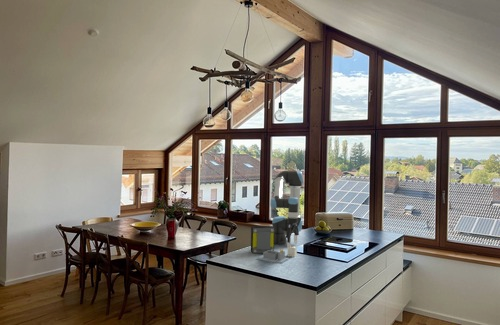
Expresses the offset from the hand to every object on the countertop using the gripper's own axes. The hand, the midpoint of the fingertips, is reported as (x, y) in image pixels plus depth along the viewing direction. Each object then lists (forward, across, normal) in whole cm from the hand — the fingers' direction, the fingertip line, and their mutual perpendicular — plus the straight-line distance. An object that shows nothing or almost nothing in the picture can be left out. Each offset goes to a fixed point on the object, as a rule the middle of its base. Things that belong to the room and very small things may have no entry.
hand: (292, 245), depth 284 cm
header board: (+9, +18, -8) cm, 21 cm away
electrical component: (+8, +2, -25) cm, 27 cm away
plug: (+8, 0, 0) cm, 9 cm away
